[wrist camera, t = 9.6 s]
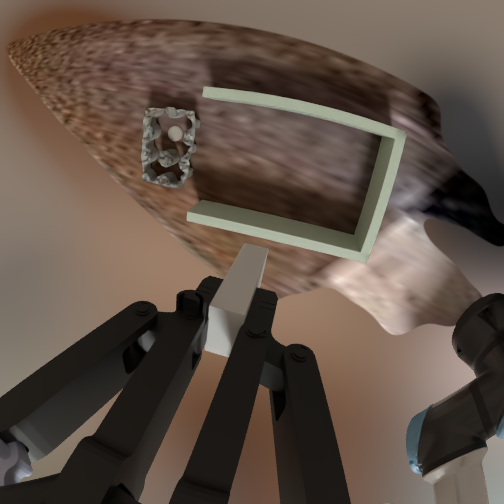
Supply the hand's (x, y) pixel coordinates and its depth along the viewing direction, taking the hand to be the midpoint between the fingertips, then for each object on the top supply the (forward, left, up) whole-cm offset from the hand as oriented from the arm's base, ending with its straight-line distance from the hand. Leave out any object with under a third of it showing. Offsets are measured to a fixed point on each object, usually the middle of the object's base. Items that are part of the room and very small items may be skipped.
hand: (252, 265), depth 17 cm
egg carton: (+15, -3, -22) cm, 27 cm away
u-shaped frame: (-1, -3, -21) cm, 21 cm away
